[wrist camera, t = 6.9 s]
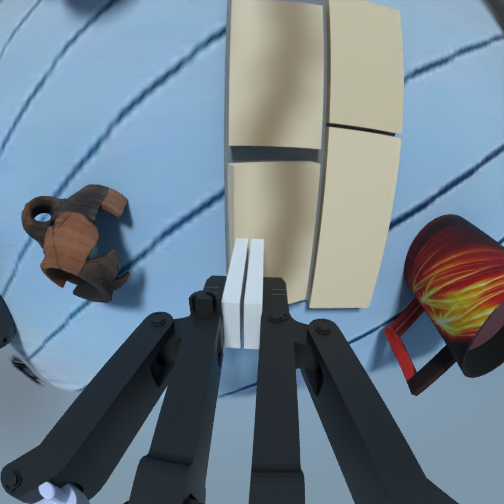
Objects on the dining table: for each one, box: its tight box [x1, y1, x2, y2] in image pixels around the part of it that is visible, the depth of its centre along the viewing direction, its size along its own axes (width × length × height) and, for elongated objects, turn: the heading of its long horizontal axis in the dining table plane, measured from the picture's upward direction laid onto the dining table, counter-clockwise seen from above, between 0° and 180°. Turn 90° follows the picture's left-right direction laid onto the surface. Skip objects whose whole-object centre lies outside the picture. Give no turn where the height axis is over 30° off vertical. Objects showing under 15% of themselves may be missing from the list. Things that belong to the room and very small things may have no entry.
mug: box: [384, 214, 504, 396], centre depth 19 cm, size 10×14×12 cm
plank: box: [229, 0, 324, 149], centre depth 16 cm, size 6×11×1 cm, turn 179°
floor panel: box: [224, 0, 404, 308], centre depth 19 cm, size 13×26×2 cm, turn 179°
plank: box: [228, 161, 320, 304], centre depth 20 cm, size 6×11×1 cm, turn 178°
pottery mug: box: [21, 184, 130, 303], centre depth 21 cm, size 12×10×8 cm
